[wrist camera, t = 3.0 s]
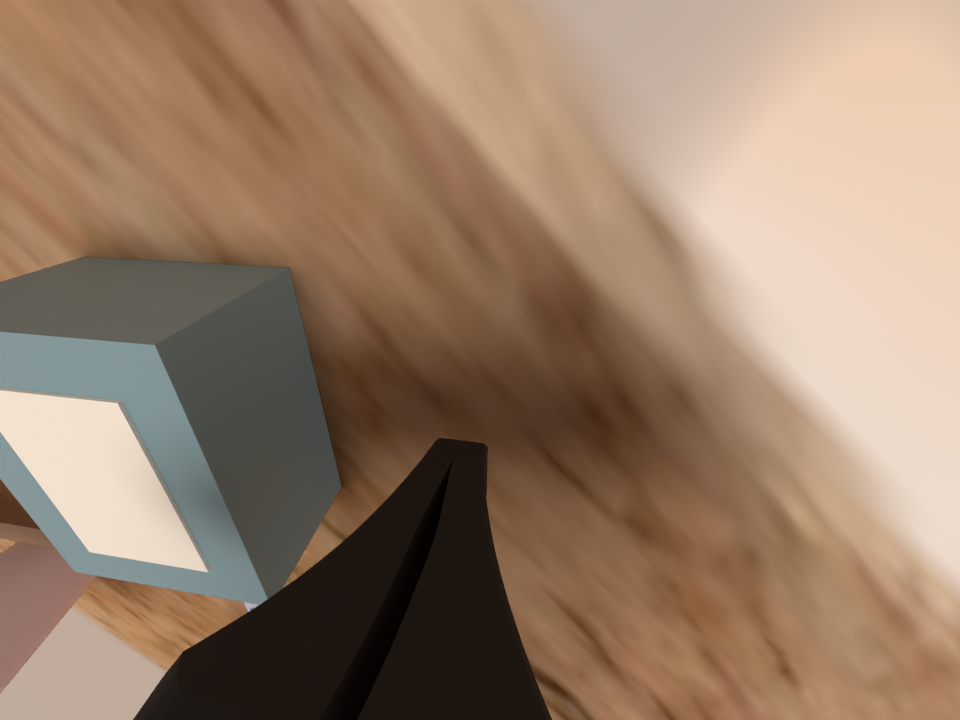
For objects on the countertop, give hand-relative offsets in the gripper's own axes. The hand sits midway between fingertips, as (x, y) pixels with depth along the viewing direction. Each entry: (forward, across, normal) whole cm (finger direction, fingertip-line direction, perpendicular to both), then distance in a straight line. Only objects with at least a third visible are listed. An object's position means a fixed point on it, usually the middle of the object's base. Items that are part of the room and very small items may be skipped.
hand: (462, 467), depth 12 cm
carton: (+3, +9, 0) cm, 9 cm away
